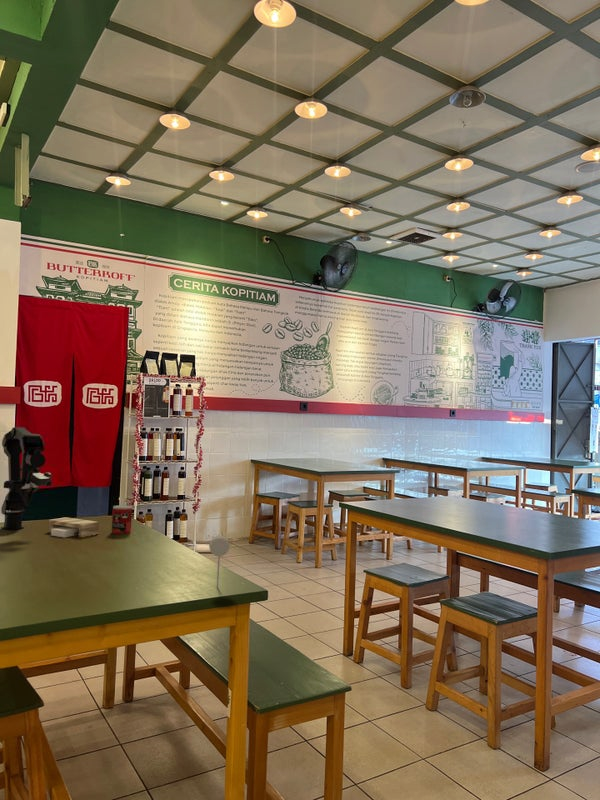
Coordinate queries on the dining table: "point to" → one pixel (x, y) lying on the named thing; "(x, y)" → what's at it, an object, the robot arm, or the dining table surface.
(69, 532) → the flat white block
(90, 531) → the oak shelf
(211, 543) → the lollipop
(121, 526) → the canned food
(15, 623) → the dining table surface
